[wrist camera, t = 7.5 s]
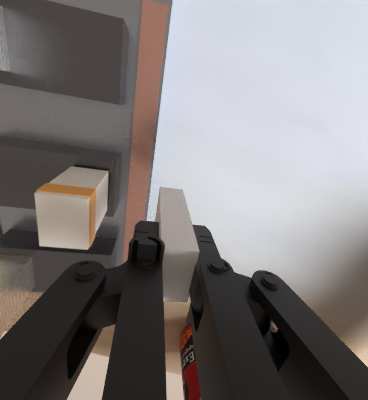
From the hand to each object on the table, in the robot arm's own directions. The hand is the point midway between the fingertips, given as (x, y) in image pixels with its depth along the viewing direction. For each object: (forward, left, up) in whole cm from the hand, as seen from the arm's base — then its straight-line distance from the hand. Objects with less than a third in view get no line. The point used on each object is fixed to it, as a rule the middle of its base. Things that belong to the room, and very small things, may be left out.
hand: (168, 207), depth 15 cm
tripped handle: (+5, 0, -2) cm, 6 cm away
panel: (+8, 0, -6) cm, 10 cm away
